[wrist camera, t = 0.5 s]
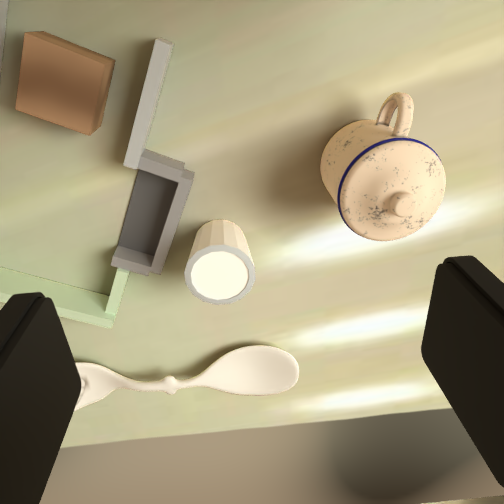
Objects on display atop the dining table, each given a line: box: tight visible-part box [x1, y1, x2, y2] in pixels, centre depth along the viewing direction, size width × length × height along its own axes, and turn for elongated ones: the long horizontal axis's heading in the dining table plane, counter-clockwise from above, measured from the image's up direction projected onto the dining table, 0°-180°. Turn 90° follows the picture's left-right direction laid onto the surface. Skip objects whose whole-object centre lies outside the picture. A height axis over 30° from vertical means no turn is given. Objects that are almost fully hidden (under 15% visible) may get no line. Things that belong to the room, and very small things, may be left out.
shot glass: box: [184, 219, 255, 305], centre depth 42 cm, size 7×7×7 cm
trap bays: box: [110, 149, 194, 276], centre depth 40 cm, size 12×25×2 cm, turn 68°
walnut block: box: [15, 31, 115, 136], centre depth 35 cm, size 6×6×4 cm
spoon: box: [74, 345, 299, 411], centre depth 53 cm, size 9×32×4 cm, turn 91°
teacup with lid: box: [320, 92, 446, 241], centre depth 36 cm, size 12×9×12 cm
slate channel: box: [0, 0, 174, 329], centre depth 38 cm, size 29×18×4 cm, turn 158°
